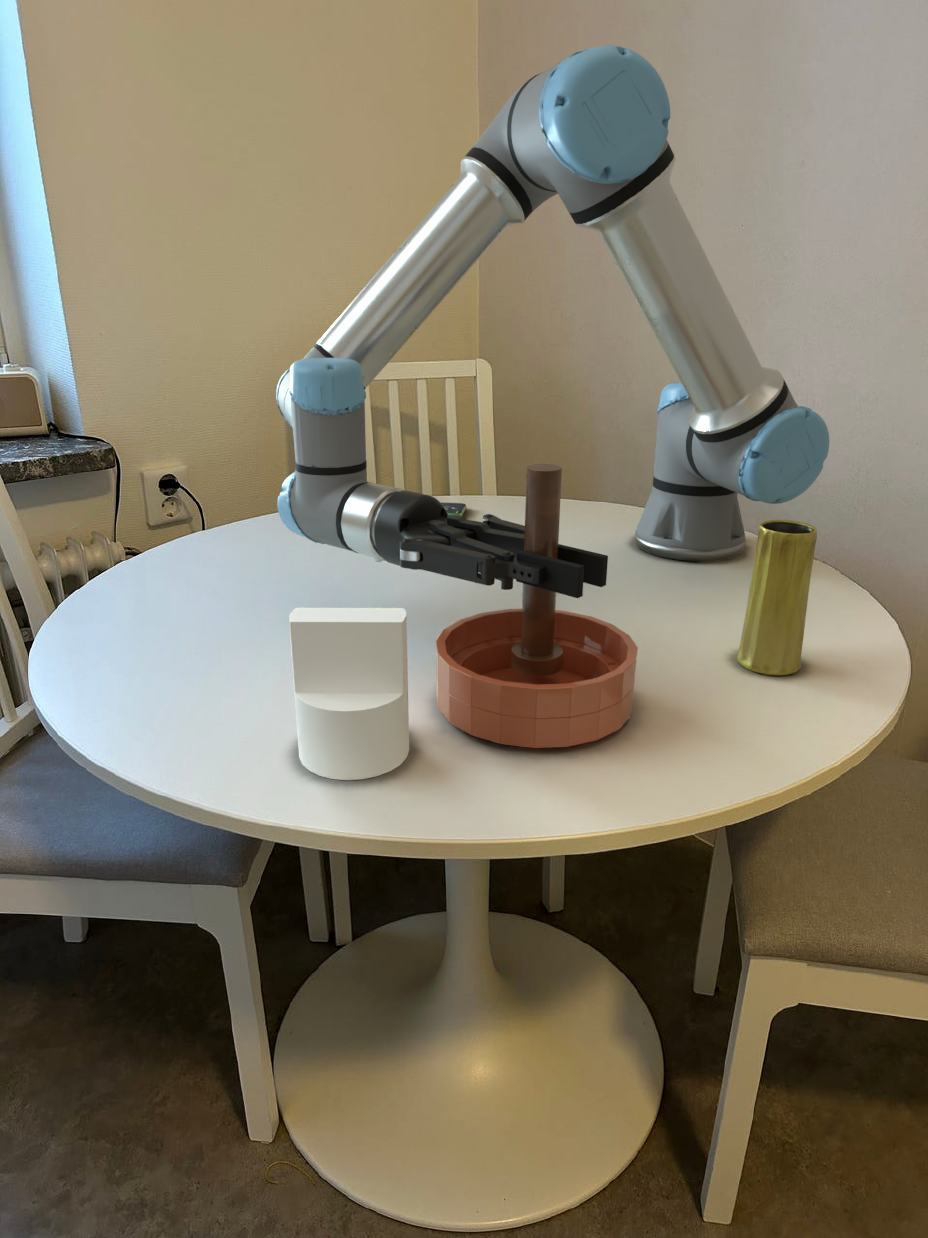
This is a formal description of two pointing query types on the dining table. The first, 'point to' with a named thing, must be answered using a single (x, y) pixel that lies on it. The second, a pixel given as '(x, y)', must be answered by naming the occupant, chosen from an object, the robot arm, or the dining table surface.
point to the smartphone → (454, 508)
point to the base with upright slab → (350, 690)
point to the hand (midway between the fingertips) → (592, 576)
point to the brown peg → (538, 604)
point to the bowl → (535, 681)
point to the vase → (778, 598)
